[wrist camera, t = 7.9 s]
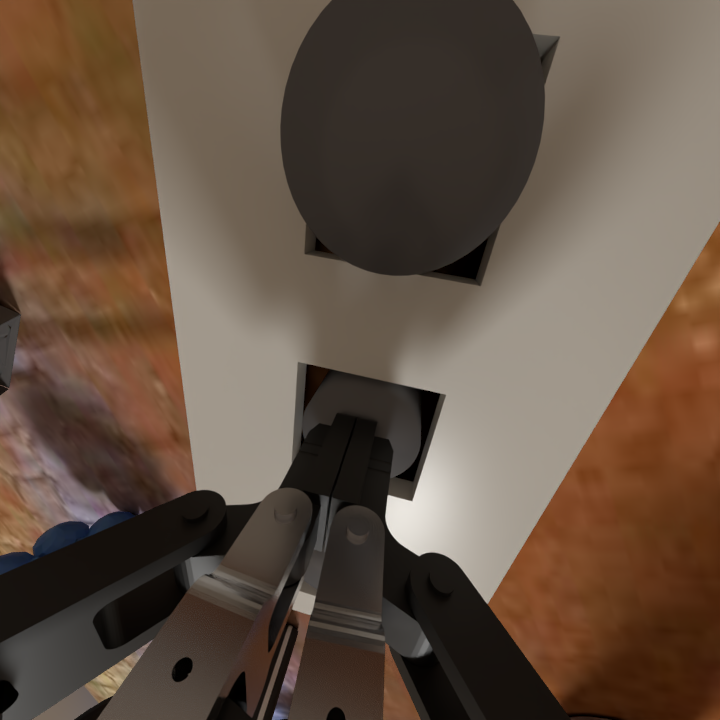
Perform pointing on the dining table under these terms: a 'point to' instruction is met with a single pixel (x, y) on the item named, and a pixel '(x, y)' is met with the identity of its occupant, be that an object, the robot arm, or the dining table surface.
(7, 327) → the electrical switch
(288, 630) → the battery charger
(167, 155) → the knob panel
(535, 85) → the knob
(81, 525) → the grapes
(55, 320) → the dining table surface
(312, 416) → the knob
